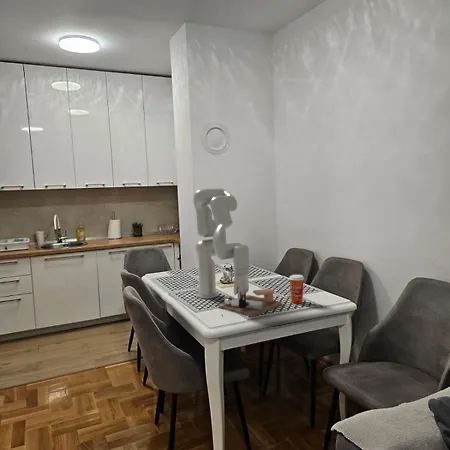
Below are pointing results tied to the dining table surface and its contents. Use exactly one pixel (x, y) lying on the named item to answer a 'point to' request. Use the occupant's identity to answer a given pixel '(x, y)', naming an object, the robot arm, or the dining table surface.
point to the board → (252, 311)
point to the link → (249, 303)
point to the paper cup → (296, 288)
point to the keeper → (265, 294)
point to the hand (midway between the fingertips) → (242, 307)
